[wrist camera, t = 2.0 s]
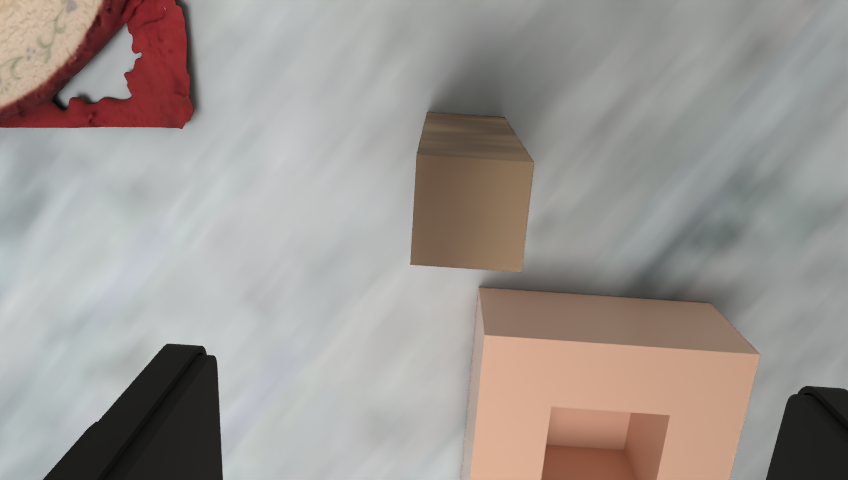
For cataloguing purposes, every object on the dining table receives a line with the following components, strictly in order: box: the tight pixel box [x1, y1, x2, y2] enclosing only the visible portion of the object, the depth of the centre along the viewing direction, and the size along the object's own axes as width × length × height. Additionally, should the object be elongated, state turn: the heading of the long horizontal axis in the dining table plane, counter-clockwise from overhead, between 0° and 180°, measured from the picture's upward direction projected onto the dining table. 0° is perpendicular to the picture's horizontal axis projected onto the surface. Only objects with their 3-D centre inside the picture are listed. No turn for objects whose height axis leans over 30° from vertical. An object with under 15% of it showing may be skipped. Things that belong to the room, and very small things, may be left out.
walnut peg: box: [410, 112, 534, 272], centre depth 28 cm, size 4×4×12 cm
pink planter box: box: [461, 287, 760, 480], centre depth 35 cm, size 13×13×6 cm
